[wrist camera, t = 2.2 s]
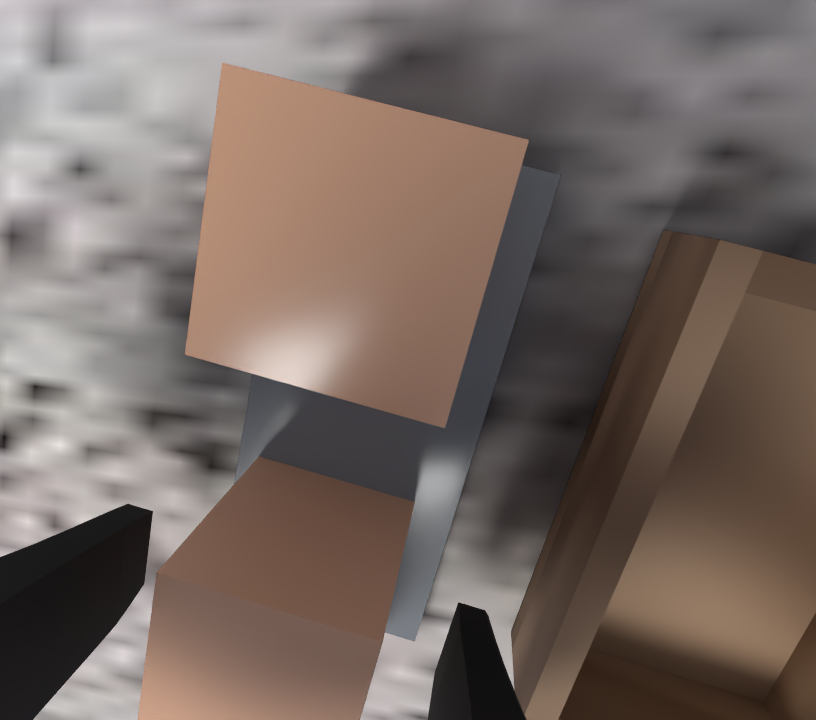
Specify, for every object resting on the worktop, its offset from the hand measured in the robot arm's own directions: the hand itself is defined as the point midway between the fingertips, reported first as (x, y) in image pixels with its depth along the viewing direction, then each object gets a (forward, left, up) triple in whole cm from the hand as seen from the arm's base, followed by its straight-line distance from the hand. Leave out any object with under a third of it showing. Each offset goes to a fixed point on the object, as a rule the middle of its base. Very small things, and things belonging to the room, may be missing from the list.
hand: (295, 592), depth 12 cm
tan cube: (+8, 0, -2) cm, 8 cm away
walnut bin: (+4, -9, -3) cm, 10 cm away
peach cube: (0, 0, -2) cm, 2 cm away
